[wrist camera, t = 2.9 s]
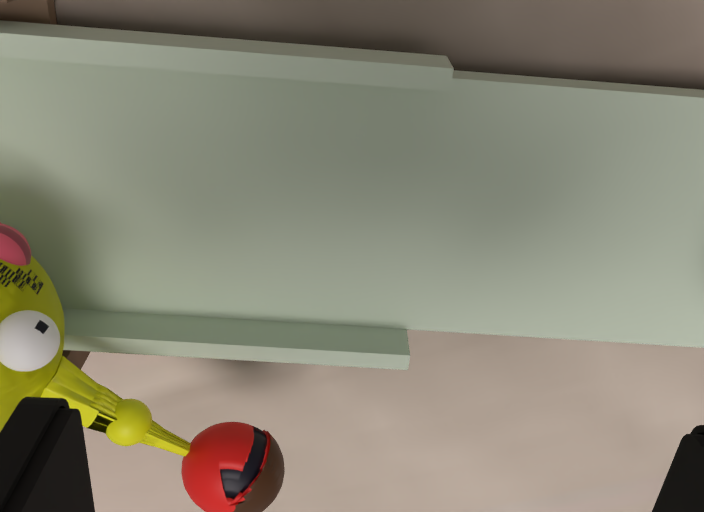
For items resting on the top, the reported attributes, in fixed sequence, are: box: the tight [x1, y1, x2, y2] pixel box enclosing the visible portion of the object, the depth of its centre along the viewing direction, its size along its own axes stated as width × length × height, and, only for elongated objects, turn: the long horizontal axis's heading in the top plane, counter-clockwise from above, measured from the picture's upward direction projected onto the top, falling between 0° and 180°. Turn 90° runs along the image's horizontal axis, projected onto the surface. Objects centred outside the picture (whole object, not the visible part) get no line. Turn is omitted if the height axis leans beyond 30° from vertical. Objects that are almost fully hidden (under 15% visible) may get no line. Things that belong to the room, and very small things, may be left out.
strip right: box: [0, 20, 704, 370], centre depth 15 cm, size 8×32×6 cm, turn 86°
